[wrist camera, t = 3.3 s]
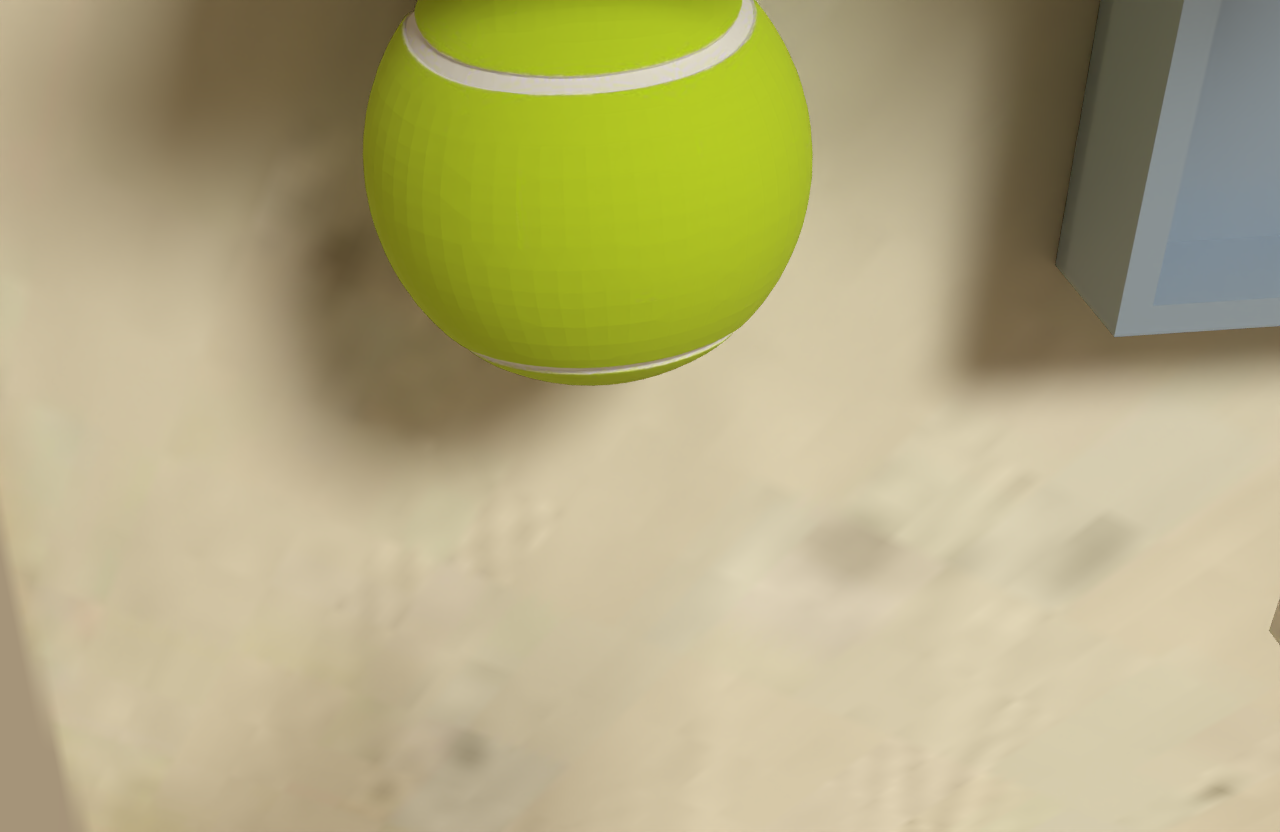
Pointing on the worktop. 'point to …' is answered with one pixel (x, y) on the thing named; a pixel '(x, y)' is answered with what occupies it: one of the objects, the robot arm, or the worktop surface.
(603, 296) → the tennis ball
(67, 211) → the worktop surface
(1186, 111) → the dish
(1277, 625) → the robot arm
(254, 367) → the worktop surface
